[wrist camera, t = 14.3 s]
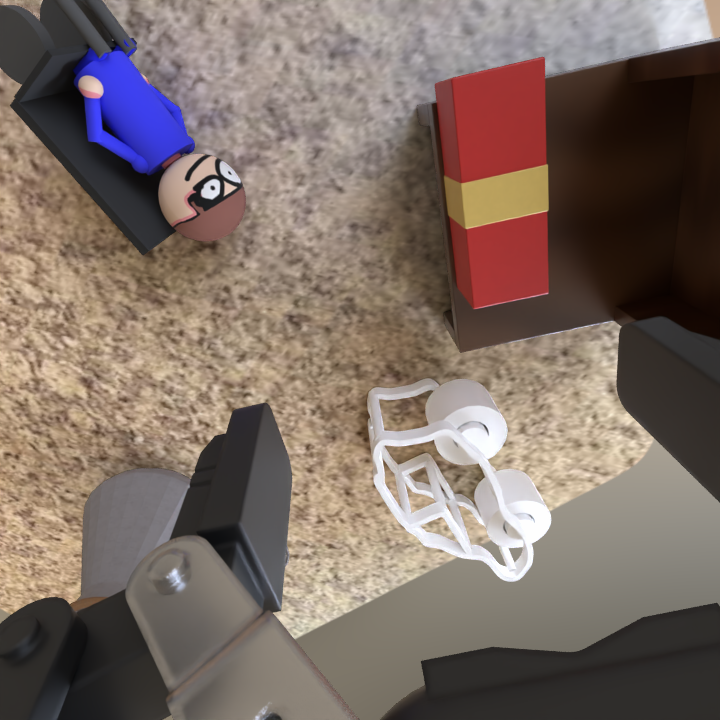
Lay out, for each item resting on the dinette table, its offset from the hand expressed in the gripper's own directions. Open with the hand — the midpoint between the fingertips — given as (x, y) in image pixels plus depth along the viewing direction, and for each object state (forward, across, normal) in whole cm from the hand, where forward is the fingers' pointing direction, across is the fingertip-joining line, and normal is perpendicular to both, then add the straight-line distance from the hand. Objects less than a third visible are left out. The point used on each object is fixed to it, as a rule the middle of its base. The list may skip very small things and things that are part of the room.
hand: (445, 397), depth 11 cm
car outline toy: (+26, -3, +24) cm, 35 cm away
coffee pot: (+26, +20, +20) cm, 38 cm away
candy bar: (+20, -7, 0) cm, 22 cm away
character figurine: (+26, +12, -8) cm, 30 cm away
